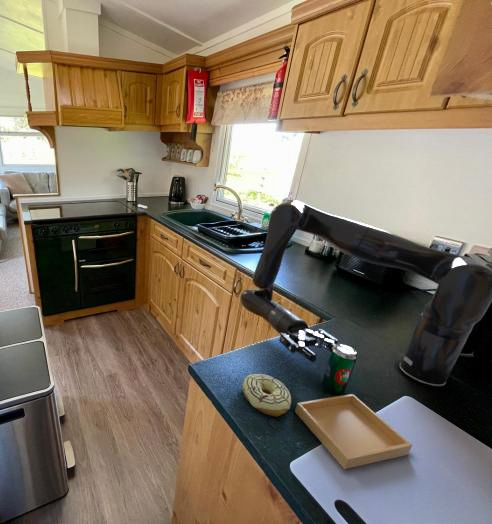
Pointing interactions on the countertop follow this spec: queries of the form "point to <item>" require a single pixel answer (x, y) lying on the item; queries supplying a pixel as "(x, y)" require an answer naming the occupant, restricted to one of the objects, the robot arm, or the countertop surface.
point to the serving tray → (352, 430)
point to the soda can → (339, 369)
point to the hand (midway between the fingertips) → (329, 357)
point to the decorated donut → (267, 394)
